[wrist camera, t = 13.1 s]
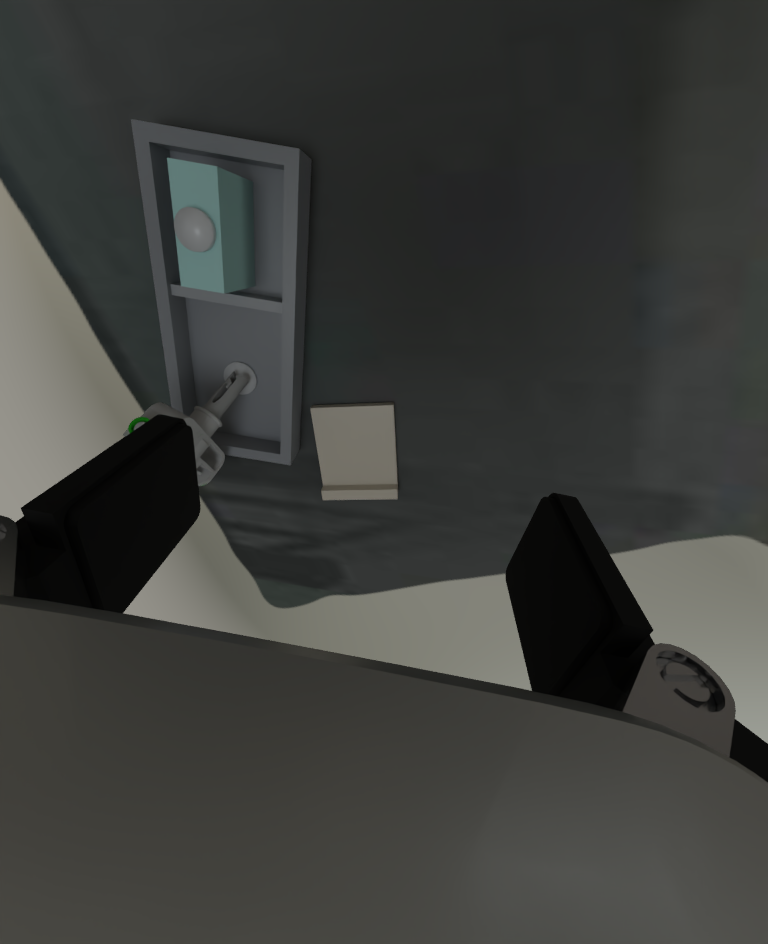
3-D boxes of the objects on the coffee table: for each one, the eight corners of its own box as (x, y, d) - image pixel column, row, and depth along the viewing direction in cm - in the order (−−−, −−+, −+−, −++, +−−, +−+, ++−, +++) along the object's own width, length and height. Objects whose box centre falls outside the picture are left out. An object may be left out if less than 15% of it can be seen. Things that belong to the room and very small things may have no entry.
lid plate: (312, 405, 38) (307, 412, 36) (393, 402, 37) (392, 408, 35) (326, 491, 43) (322, 500, 41) (398, 489, 42) (397, 499, 40)
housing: (161, 133, 28) (83, 97, 21) (311, 159, 28) (280, 131, 21) (195, 432, 40) (152, 467, 33) (299, 448, 40) (277, 487, 34)
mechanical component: (245, 400, 40) (182, 479, 36) (203, 330, 30) (113, 428, 27) (269, 412, 39) (208, 494, 36) (234, 344, 30) (146, 447, 26)
